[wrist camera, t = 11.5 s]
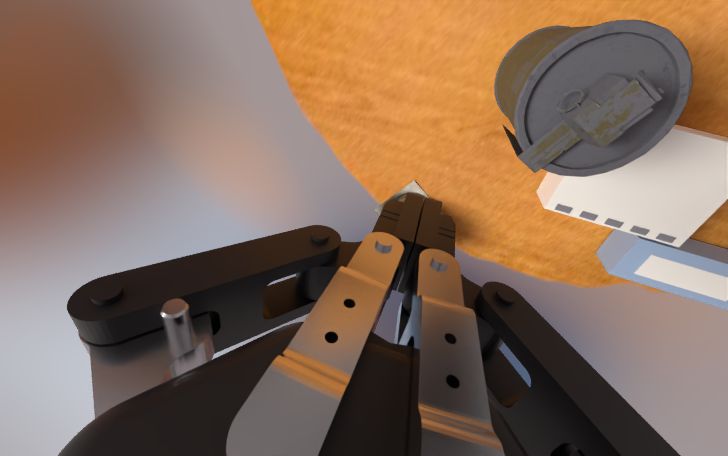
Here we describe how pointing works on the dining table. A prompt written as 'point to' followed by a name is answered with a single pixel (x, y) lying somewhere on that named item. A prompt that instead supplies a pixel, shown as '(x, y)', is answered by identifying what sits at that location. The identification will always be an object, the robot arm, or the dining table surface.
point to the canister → (592, 94)
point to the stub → (669, 266)
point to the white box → (650, 189)
